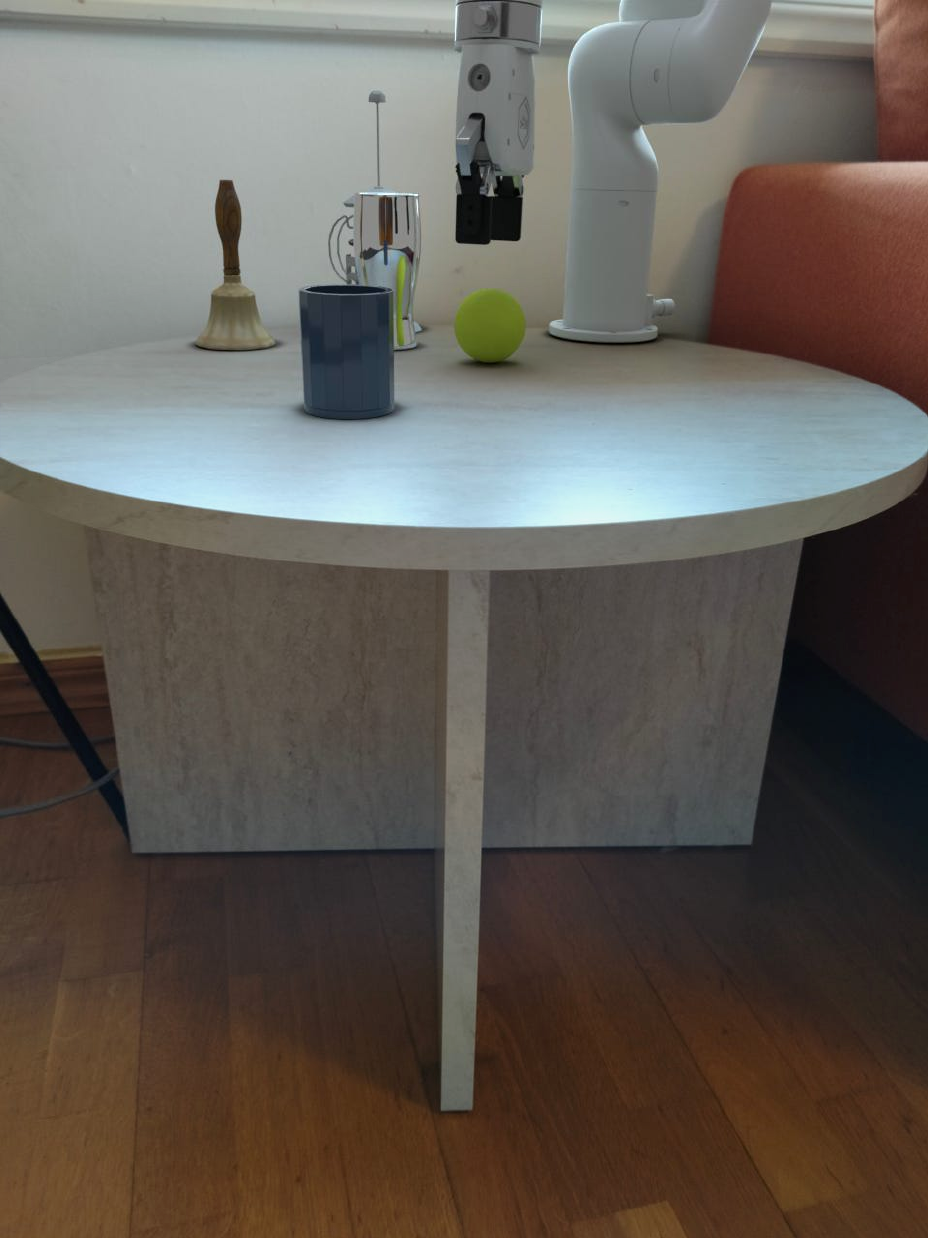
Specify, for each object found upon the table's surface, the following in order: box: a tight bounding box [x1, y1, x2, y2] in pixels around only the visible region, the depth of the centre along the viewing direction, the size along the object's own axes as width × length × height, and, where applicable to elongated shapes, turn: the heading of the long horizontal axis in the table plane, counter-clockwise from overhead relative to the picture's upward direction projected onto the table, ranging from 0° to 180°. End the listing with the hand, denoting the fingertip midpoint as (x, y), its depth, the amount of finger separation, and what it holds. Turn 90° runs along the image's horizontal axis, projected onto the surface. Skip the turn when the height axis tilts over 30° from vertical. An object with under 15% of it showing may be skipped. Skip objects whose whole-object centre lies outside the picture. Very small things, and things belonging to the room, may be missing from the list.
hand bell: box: [195, 179, 277, 351], centre depth 101 cm, size 8×8×16 cm
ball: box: [453, 287, 527, 364], centre depth 96 cm, size 7×7×7 cm
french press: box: [327, 89, 422, 333], centre depth 112 cm, size 10×12×25 cm
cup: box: [297, 283, 395, 420], centre depth 76 cm, size 7×7×9 cm
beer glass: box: [352, 192, 422, 351], centre depth 102 cm, size 7×7×15 cm
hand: (489, 241), depth 93 cm, fingers open, 9 cm apart
